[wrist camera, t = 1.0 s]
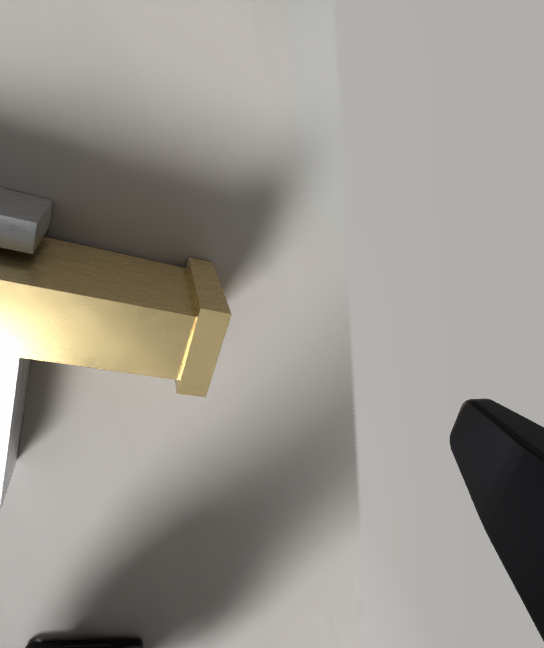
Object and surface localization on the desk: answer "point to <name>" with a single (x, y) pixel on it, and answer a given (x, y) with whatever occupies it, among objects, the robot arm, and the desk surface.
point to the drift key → (113, 312)
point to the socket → (6, 371)
